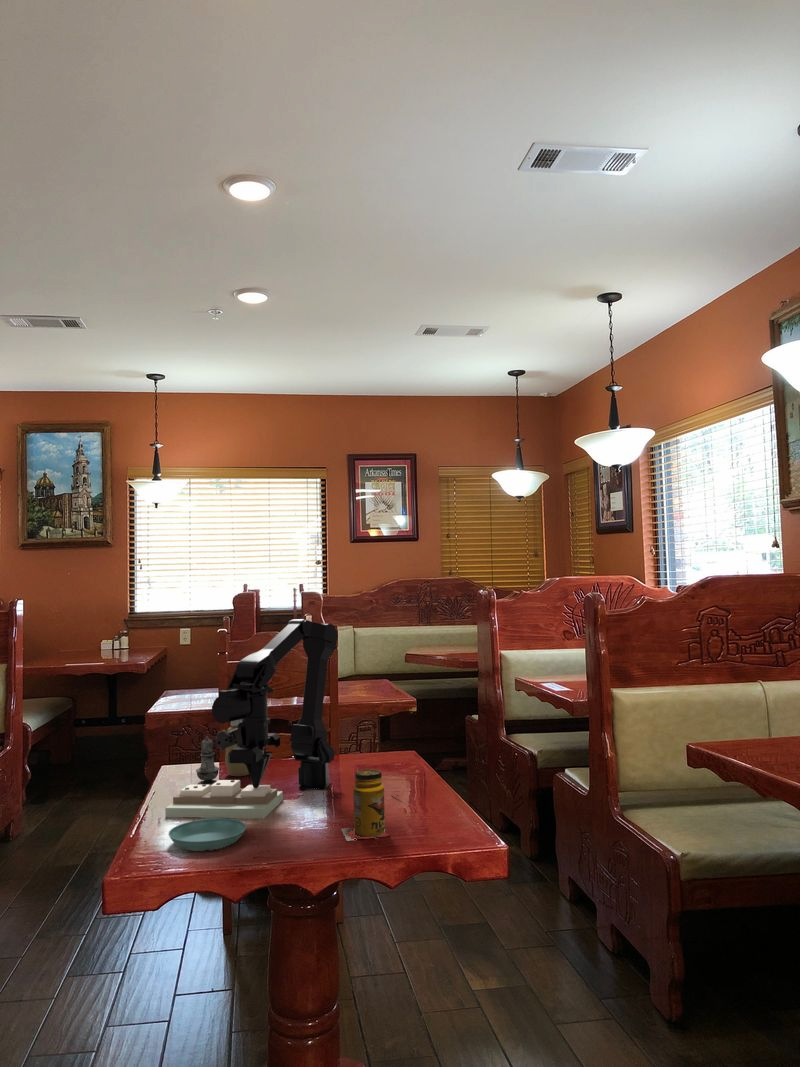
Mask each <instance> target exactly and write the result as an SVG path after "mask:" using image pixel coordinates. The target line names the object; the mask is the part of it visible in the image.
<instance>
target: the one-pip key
mask: <svg viewBox="0 0 800 1067" xmlns="http://www.w3.org/2000/svg"><path fill="white" fill-rule="evenodd" d="M242 789H243V790H242V791H241V797H265V796H266V795H267V794H268V793H270V789H271V784H260V785H259V787H253V785H252V784H248V785H247V786H246V787H244V788H242Z"/></svg>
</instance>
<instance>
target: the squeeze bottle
mask: <svg viewBox="0 0 800 1067" xmlns="http://www.w3.org/2000/svg"><path fill="white" fill-rule="evenodd" d="M241 721H242V719H240V720H236V721H231V722H230V726H229V727H228V729H226V731H227V732H229V731H231V730H234V729H236V728H238V727H237V725H238V723H239V722H241ZM235 747H237V744H235V745H233V746H230V747H227V748H225V753H224V754H225V755H224V756H225V757H224V763H225V767H226V770H227V771H228V772H227V773H228V775H229V776H232V777H233V776H234V777H243V776H244V777H245V776H248V775H249V772H248V769H247V767H246V765H245V764H244V763H228V753H229V752H230V751H231V750H232V749H234V748H235ZM249 776H250V775H249Z"/></svg>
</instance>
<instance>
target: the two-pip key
mask: <svg viewBox="0 0 800 1067" xmlns="http://www.w3.org/2000/svg"><path fill="white" fill-rule="evenodd" d="M216 781H217V782H215V783H214V784H212V785H211V796H220V797H234V796H235V795H236V794H238V793H239V792H240V789H241V780H240V779H218V780H216Z"/></svg>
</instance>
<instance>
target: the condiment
mask: <svg viewBox="0 0 800 1067" xmlns="http://www.w3.org/2000/svg"><path fill="white" fill-rule="evenodd" d="M354 778H355V779H354V783H355V784H354V787H353V790H352V791H353V818H354V819H353V820H354V821H353V822H354V827H352V828H348V827H346V828H345V827H344V828H341V832H342V834H343V837H344V836H345V837H344V838H345V840H346V841H347V842H351V841H358V840H357V839H356V838H354V839H356V840H354V839H351V837H350V836H348V835H349V833H348V834H347V832H350V831H351V830H352V831H353V829H355V835H357V836H360V837H377V836H380V835H382V834H384V833H385V830H386V812H385V789H384V784H383V779H382V778H383V777H382V772H381V770H378V769H371V768H368V769H367V768H366V769H360V770H358V771H356V772H355V773H354ZM346 834H347V835H346ZM352 835H353V834H352Z"/></svg>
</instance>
